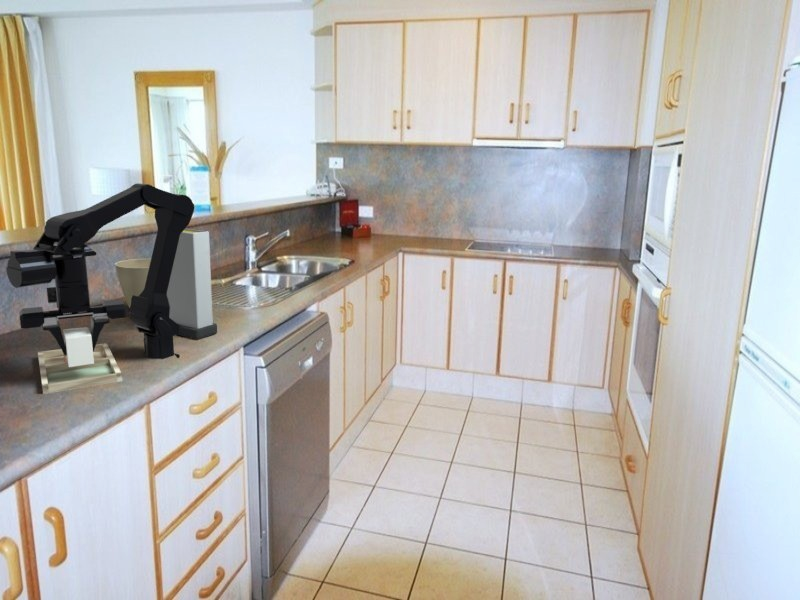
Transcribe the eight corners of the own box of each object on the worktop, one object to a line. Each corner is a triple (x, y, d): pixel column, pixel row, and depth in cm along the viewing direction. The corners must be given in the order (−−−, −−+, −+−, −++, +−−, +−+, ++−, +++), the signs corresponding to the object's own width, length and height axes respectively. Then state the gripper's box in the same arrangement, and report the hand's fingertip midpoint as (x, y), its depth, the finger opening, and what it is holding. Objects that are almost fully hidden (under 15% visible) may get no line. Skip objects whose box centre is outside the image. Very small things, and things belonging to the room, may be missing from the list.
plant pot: (107, 317, 163) (102, 264, 160) (144, 306, 177) (140, 257, 173) (149, 323, 159) (145, 269, 155) (183, 311, 173) (181, 261, 169)
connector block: (90, 353, 120) (87, 326, 119) (94, 363, 114) (91, 335, 113) (66, 356, 118) (63, 329, 116) (68, 367, 112) (65, 338, 111)
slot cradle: (122, 385, 116) (121, 374, 116) (43, 398, 108) (42, 386, 108) (107, 353, 135) (106, 343, 134) (38, 362, 127) (37, 351, 126)
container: (182, 333, 160) (164, 228, 155) (229, 333, 151) (211, 222, 146) (161, 339, 153) (141, 230, 149) (208, 340, 144) (188, 224, 140)
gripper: (116, 269, 124) (122, 336, 127) (15, 276, 113) (24, 348, 117) (125, 278, 115) (130, 350, 118) (15, 286, 104) (25, 365, 108)
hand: (79, 353), depth 116 cm, fingers closed on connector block, 4 cm apart
